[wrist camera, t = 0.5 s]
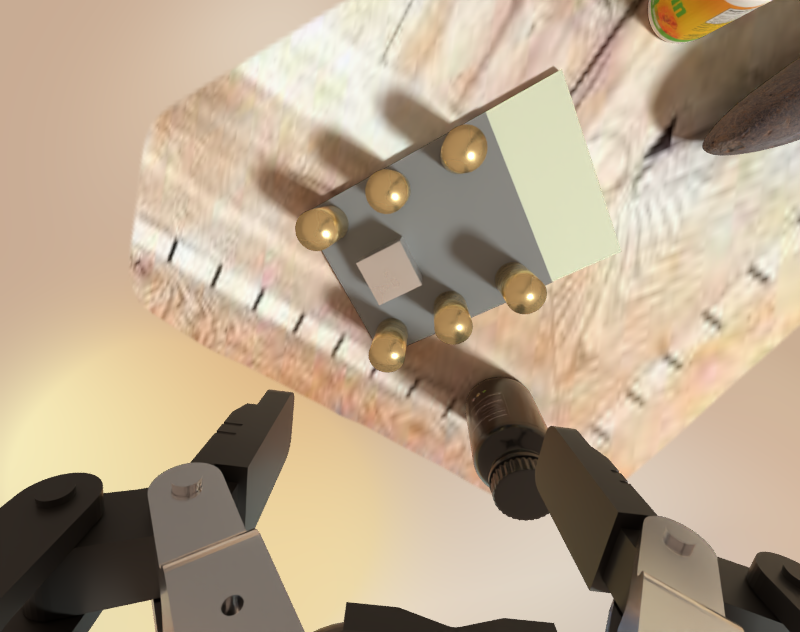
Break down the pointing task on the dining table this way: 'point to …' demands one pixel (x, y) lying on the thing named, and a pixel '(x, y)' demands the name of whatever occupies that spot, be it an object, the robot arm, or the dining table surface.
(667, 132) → the dining table surface
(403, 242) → the white faced textured brick
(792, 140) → the perforated stone tool
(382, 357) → the spacers
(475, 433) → the supplement bottle
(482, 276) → the mat
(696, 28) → the supplement bottle
